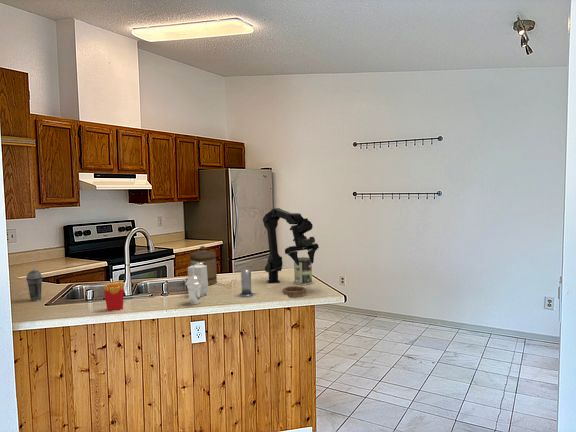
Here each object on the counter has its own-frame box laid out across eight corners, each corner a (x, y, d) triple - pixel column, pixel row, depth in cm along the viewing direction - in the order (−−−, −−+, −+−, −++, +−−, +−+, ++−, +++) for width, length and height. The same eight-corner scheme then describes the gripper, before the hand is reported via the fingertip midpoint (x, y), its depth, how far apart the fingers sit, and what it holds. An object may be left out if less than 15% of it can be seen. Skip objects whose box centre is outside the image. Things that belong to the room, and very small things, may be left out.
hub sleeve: (239, 293, 228) (238, 269, 227) (252, 292, 229) (251, 268, 228) (240, 297, 221) (240, 271, 220) (254, 296, 223) (253, 271, 222)
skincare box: (208, 294, 232) (207, 265, 230) (201, 297, 226) (200, 267, 224) (195, 292, 235) (194, 264, 234) (188, 295, 229) (187, 266, 228)
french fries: (105, 311, 204) (103, 284, 202) (105, 309, 208) (104, 282, 206) (126, 309, 207) (124, 282, 205) (126, 306, 211) (124, 280, 209)
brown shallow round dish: (279, 291, 234) (279, 287, 234) (303, 290, 237) (303, 285, 237) (285, 298, 221) (285, 293, 221) (309, 296, 224) (309, 291, 224)
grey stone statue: (187, 301, 219) (185, 261, 218) (205, 300, 220) (204, 261, 218) (184, 305, 211) (183, 265, 209) (203, 305, 212) (202, 264, 210)
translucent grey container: (186, 283, 256) (184, 246, 254) (206, 279, 267) (204, 243, 265) (202, 287, 246) (200, 249, 244) (222, 282, 257) (221, 245, 256)
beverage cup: (27, 302, 220) (24, 263, 219) (28, 299, 227) (25, 261, 225) (43, 300, 224) (41, 262, 222) (44, 297, 230) (41, 260, 229)
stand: (242, 293, 231) (242, 292, 231) (258, 295, 228) (258, 293, 228) (234, 298, 223) (234, 296, 223) (250, 299, 219) (250, 297, 219)
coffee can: (313, 281, 258) (312, 257, 257) (310, 285, 248) (310, 260, 247) (296, 280, 260) (295, 257, 259) (292, 284, 250) (292, 260, 249)
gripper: (292, 233, 222) (299, 263, 218) (321, 230, 232) (328, 258, 229) (281, 239, 231) (287, 267, 227) (309, 236, 241) (316, 263, 238)
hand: (305, 264), depth 230 cm, fingers open, 9 cm apart
